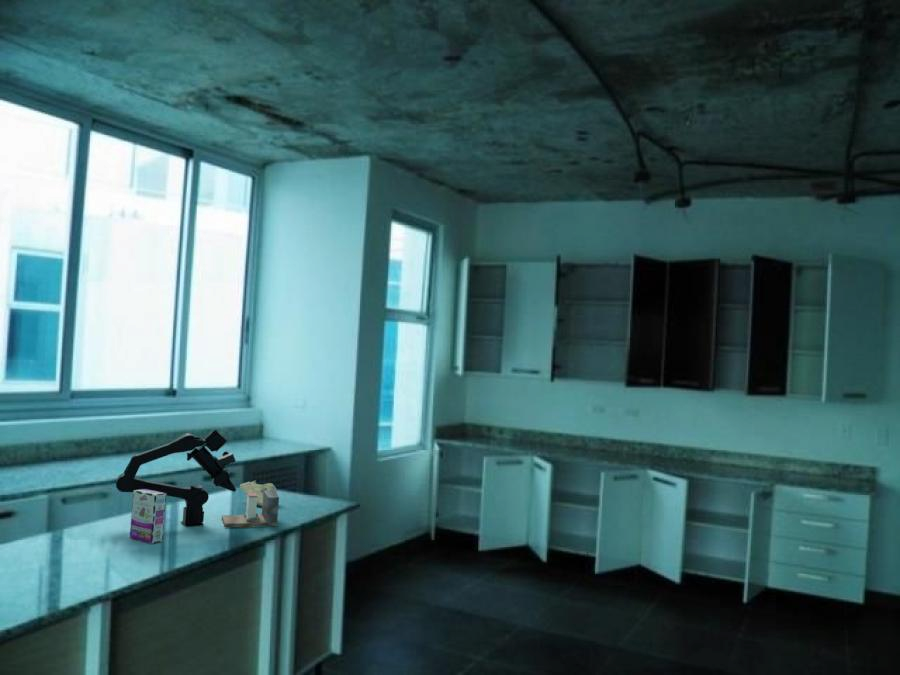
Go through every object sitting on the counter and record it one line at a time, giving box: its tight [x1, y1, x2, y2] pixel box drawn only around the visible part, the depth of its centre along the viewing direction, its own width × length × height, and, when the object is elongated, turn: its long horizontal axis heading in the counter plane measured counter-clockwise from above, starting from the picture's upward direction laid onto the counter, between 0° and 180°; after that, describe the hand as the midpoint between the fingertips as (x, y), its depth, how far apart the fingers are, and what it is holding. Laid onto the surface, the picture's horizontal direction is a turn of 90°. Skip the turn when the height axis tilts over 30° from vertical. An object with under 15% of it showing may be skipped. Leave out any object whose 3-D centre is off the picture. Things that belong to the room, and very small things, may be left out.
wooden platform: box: [221, 490, 280, 528], centre depth 277 cm, size 19×13×11 cm
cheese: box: [239, 480, 278, 507], centre depth 310 cm, size 15×7×15 cm
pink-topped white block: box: [245, 493, 258, 518], centre depth 277 cm, size 3×6×9 cm, turn 22°
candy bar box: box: [129, 489, 167, 545], centre depth 245 cm, size 11×5×16 cm, turn 62°
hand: (234, 489), depth 275 cm, fingers open, 3 cm apart
